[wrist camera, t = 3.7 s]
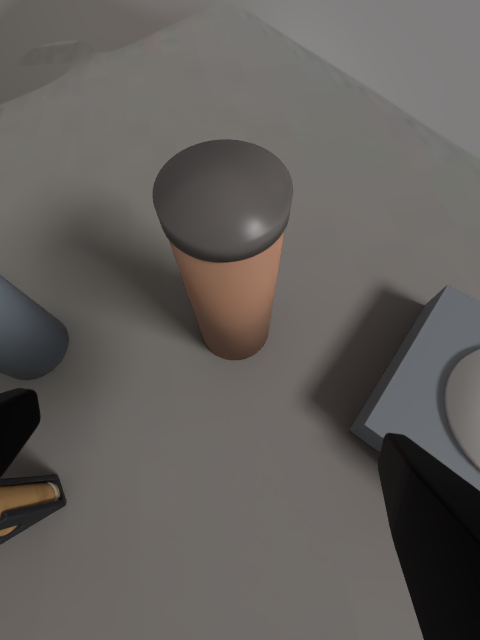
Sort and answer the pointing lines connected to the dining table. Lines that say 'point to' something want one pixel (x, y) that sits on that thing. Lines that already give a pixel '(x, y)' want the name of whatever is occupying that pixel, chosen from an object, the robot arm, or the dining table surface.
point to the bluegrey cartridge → (28, 335)
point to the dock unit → (433, 387)
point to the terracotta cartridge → (226, 237)
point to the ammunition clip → (27, 502)
